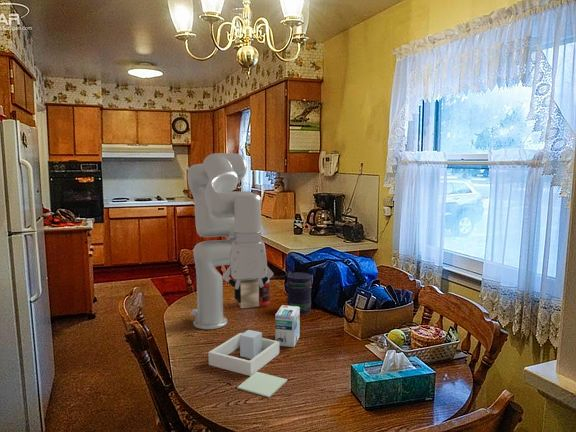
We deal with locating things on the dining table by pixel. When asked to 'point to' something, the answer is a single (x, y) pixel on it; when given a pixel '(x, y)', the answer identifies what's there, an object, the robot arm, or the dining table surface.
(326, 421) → the dining table surface
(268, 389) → the mat
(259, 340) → the plain block
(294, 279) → the storage jar
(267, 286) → the canned food
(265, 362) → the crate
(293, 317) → the light bulb box
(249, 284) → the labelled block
